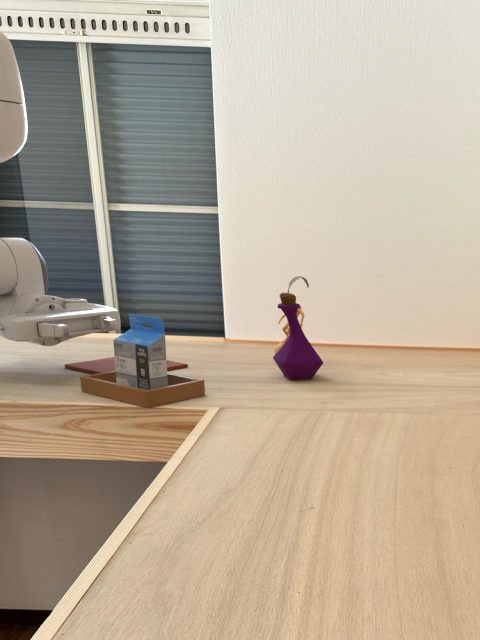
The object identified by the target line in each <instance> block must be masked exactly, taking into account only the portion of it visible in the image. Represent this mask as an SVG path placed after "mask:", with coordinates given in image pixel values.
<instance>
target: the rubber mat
mask: <svg viewBox="0 0 480 640" xmlns="http://www.w3.org/2000/svg"><path fill="white" fill-rule="evenodd" d="M166 362H167V372H168V371H173V370H180V369H186V368H189V364H188V363H184V362H178V361H174V360H167V359H166ZM64 368H65V369H70V370H74V371H77V372H84V373H88V374H91V375H92V374H98V373H104V372H110V371H116V368H115V356H112V357H105V358H98V359H92V360H85V361H79V362H72V363H71V362H70V363H65V364H64Z"/></svg>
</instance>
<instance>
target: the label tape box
mask: <svg viewBox="0 0 480 640" xmlns="http://www.w3.org/2000/svg"><path fill="white" fill-rule="evenodd" d="M128 320H129V327H130V328H129V329H128V330H126V331H125V332H124V333H122V334H120V335H119V336H117V337H116V338H114V339H113V353H114V354H113V355H114V357H115V368H116V382H117V383H118V384H122V385H126V386H131V387H135V388H140V389H144V390H150V389H155V388H161V387H166V386H168V378H167V373H168V371H167V362H166V360H167V348H166V332H165V326H164V321H163V318H161V317H155V316H148V315H142V314H133V313H128ZM146 323H147V324H148V325H152V327H149V326H143V324H146Z"/></svg>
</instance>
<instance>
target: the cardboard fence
mask: <svg viewBox="0 0 480 640" xmlns="http://www.w3.org/2000/svg"><path fill="white" fill-rule="evenodd" d="M167 378H168V386H166V387H161V388H155V389H150V390H144V389H140V388H135V387H131V386H126V385H122V384H118V383H117V382H116V371H110V372H104V373H98V374H92V373H91V374H86V375H80V376H79V381H80V389H81V392H82V393H86V394H89V395H94V396H98V397H102V398H106V399H110V400H114V401H118V402H122V403H127V404H131V405H135V406H138V407H143V408H147V409H149V408H153V407H158V406H161V405H166V404H171V403H175V402H180V401H185V400H188V399H189V400H190V399H195V398H198V397H203V396H206V389H205V388H206V386H205V380H204V379H201V378H196V377H192V376H191V377H190V376H185V375H180V374H175V373H171V372H167Z"/></svg>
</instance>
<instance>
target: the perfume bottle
mask: <svg viewBox="0 0 480 640" xmlns="http://www.w3.org/2000/svg"><path fill="white" fill-rule="evenodd" d="M300 279H302V280H303V281H304V283H305V284H306V287H307V289H309V288H310V287H309V286H310V284H309V282H308V280H307V279H306V277H305V276H302V275H297V276H294V277H292V278H290V281H289V283H288V288H287V292H281V293H280V294H279V298H280V303H278V304H277V309H279V310H281V312H283V315H284V314H285V315H286V316H285V317H286V320H287V321H288V324H289V330H290V334H289V337H288V339H287V341H286V342H285V343H284V345H283V346H282V347H281V348H280V349H279V351H278V352H277V353H276V354H275V353H274V355H273V357H272V360H273V361H274V362H275V364H276V366H277V367H278V368H279V370H280V372H281V373H282V375H283V376H284V377H285V378H287V379H288V380H290V381H304V380H313V378H314V377H315V375H316V374H317V373H318V371H319V370H320V368H321V367H322V365H324V361H323V360H322V358H321V357H320V355H319V354H318V352H317V351H316V350H315V348H314V347H313V344H311V343H310V341H309V340H308V338H307V336H306V335H305V332H304V331H303V329H302V328H303V327H302V328H301V326H300V324H301V323H300V321H299V317H298V318H297V310H298V309H299V308H300V306H301V304H300V303H298V302H297V296H296V295H295V294H293V293H291V292H290V288H291V287H292V285H293V284H294V283H296V281H297V280H300Z"/></svg>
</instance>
